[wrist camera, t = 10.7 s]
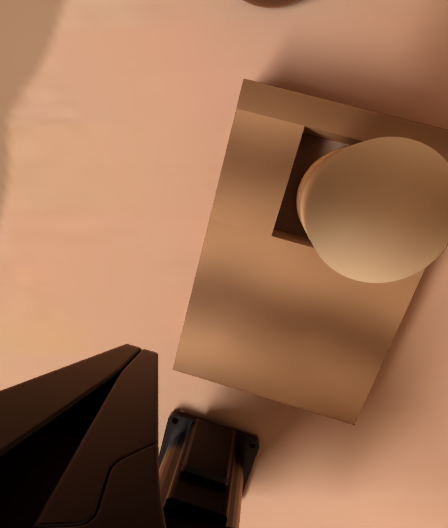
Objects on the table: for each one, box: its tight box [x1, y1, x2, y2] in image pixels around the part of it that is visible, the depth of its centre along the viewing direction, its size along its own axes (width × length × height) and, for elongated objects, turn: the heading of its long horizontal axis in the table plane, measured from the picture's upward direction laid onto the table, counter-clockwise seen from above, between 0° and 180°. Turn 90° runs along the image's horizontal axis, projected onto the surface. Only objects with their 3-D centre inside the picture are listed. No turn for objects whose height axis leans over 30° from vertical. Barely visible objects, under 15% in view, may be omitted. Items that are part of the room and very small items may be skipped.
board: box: [173, 79, 448, 425], centre depth 19 cm, size 16×11×2 cm
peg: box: [296, 137, 448, 283], centre depth 15 cm, size 4×4×9 cm
